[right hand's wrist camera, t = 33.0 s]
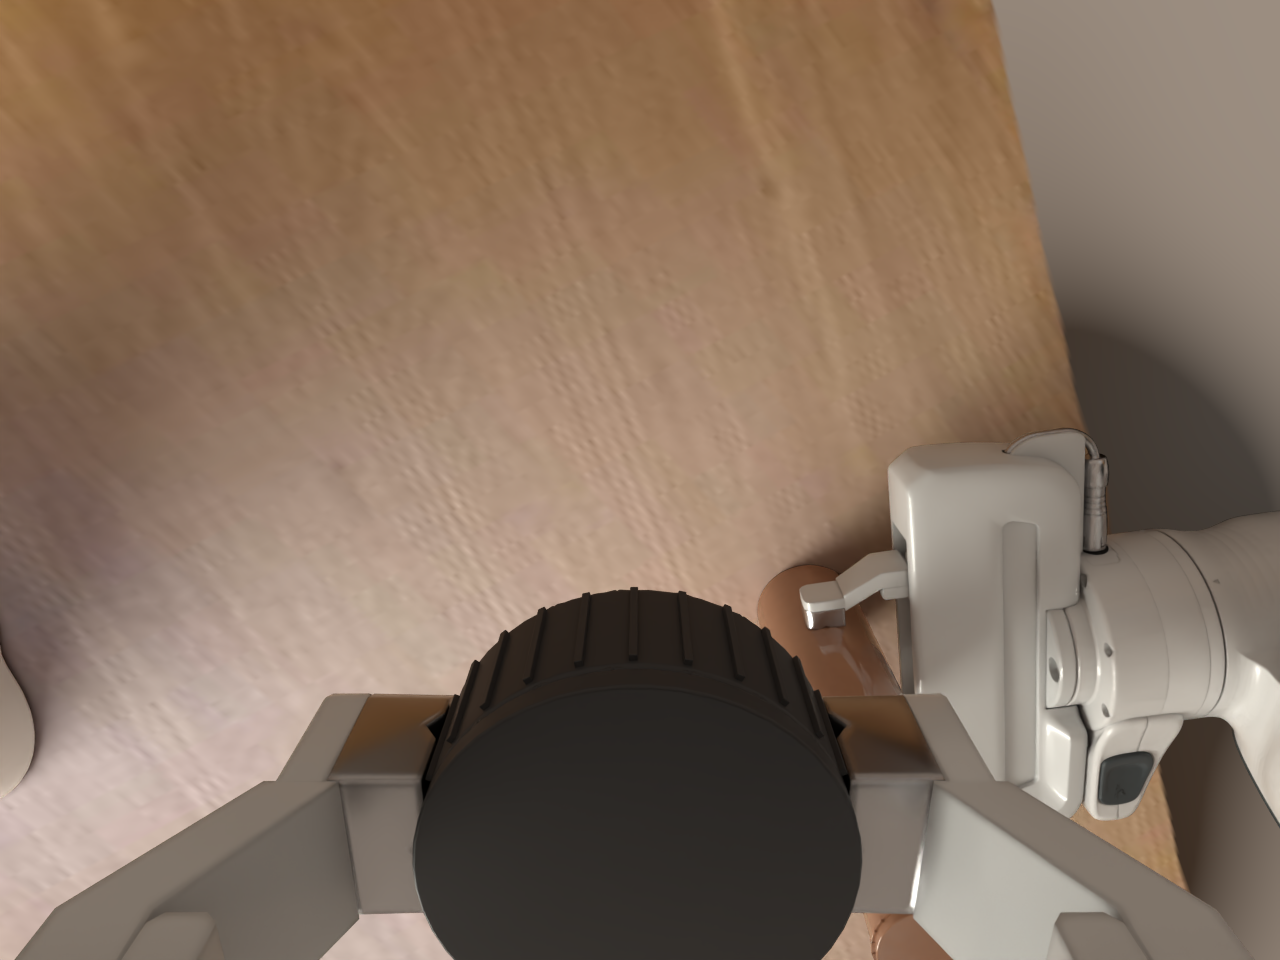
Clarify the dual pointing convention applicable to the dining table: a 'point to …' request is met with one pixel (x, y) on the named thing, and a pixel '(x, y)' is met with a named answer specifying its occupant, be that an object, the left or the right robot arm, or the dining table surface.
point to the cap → (637, 793)
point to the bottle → (843, 669)
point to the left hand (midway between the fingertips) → (808, 669)
